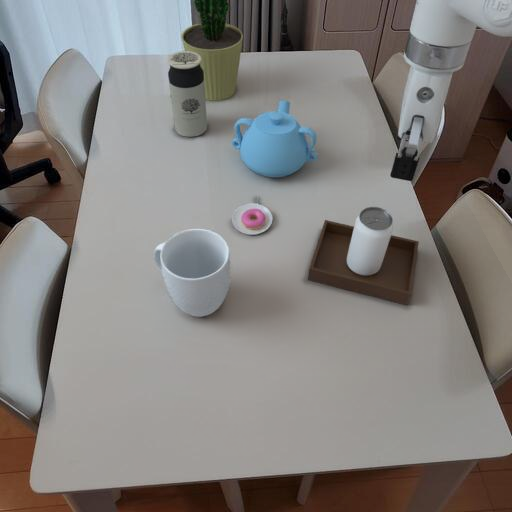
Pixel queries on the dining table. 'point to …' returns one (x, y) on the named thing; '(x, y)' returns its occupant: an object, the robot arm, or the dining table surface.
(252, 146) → the teapot
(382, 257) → the can
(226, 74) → the potted cactus
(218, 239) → the mug
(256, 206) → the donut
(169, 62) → the travel mug
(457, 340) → the dining table surface
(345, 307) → the dining table surface
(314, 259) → the tray
